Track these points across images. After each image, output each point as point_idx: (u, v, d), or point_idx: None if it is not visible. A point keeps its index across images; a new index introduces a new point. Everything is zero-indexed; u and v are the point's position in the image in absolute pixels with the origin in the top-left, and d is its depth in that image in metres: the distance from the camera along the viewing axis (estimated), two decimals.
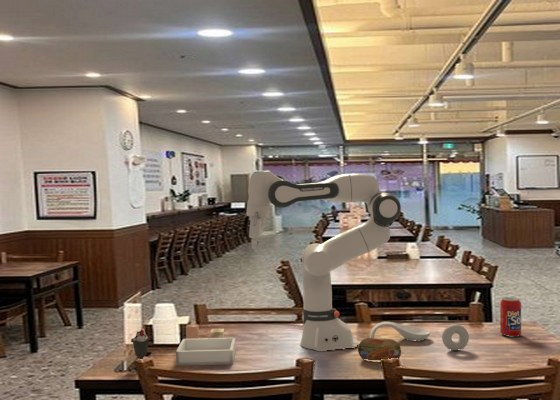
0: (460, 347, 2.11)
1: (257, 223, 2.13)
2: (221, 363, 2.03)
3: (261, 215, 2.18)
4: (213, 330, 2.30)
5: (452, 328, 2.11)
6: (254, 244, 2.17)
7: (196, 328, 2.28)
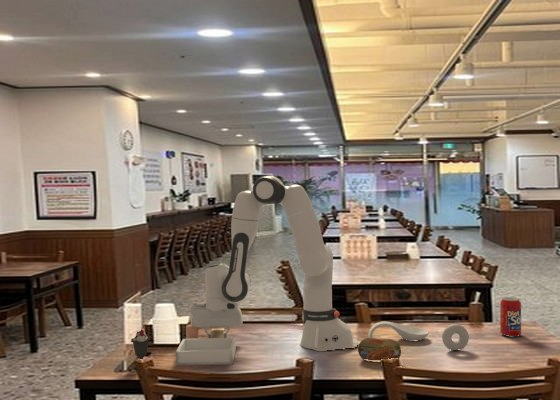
0: (460, 347, 2.11)
1: (192, 313, 2.29)
2: (221, 363, 2.03)
3: (206, 307, 2.28)
4: (213, 330, 2.30)
5: (452, 328, 2.11)
6: None
7: (196, 328, 2.28)
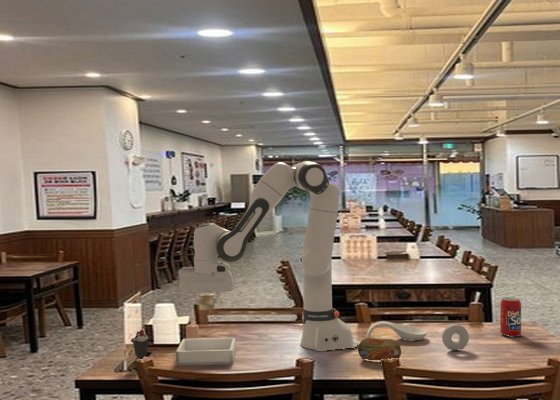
0: (460, 347, 2.11)
1: (180, 277, 2.13)
2: (221, 363, 2.03)
3: (194, 270, 2.12)
4: (202, 295, 2.15)
5: (452, 328, 2.11)
6: None
7: (196, 328, 2.28)
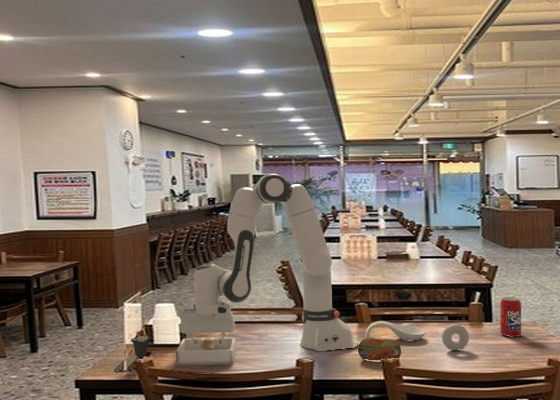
0: (460, 347, 2.11)
1: (181, 318, 2.13)
2: (221, 363, 2.03)
3: (195, 311, 2.12)
4: (203, 338, 2.15)
5: (452, 328, 2.11)
6: None
7: None
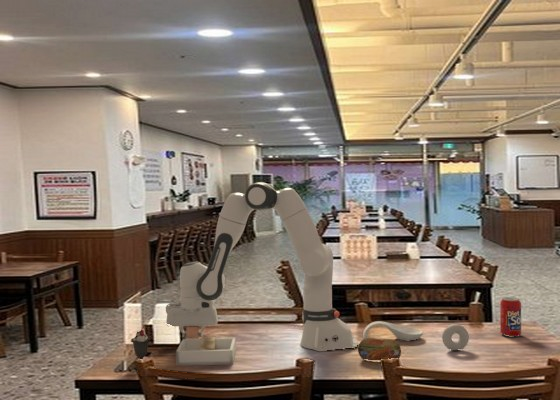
0: (460, 347, 2.11)
1: (167, 312, 2.29)
2: (221, 363, 2.03)
3: (180, 306, 2.28)
4: (203, 338, 2.15)
5: (452, 328, 2.11)
6: None
7: (196, 328, 2.28)
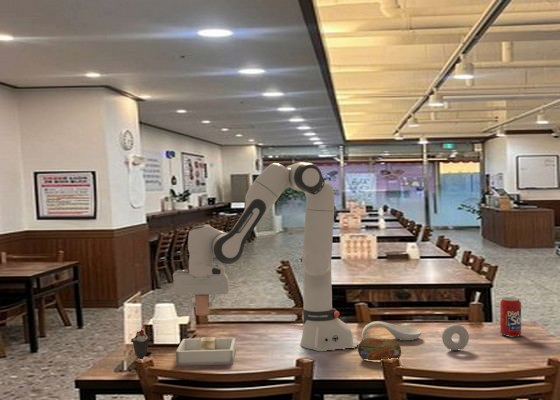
0: (460, 347, 2.11)
1: (175, 280, 2.09)
2: (221, 363, 2.03)
3: (189, 272, 2.08)
4: (203, 338, 2.15)
5: (452, 328, 2.11)
6: None
7: (206, 297, 2.09)
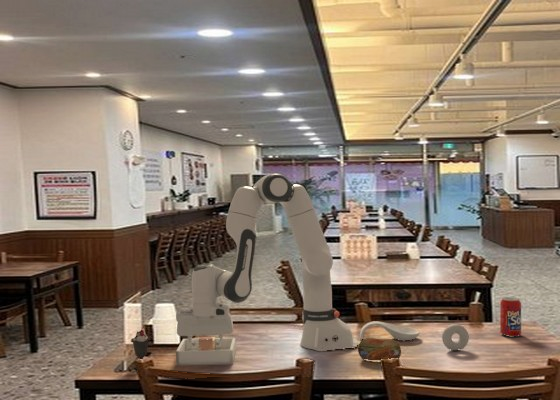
0: (460, 347, 2.11)
1: (178, 320, 2.06)
2: (221, 363, 2.03)
3: (192, 313, 2.05)
4: None
5: (452, 328, 2.11)
6: None
7: (210, 341, 2.06)
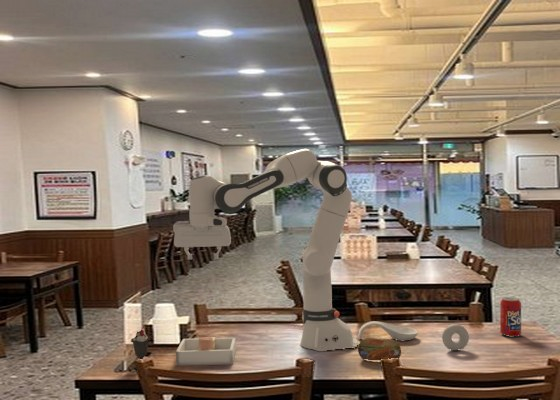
0: (460, 347, 2.11)
1: (175, 231, 2.05)
2: (221, 363, 2.03)
3: (190, 223, 2.04)
4: None
5: (452, 328, 2.11)
6: None
7: (210, 341, 2.06)
